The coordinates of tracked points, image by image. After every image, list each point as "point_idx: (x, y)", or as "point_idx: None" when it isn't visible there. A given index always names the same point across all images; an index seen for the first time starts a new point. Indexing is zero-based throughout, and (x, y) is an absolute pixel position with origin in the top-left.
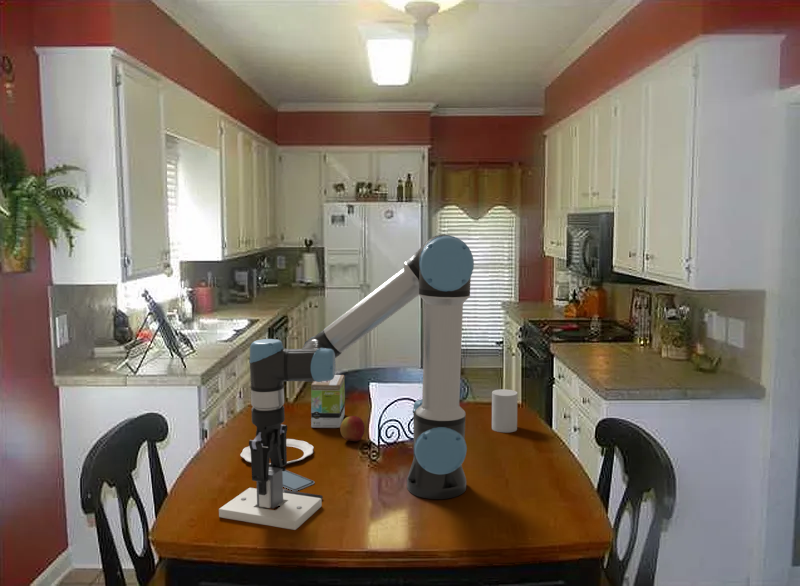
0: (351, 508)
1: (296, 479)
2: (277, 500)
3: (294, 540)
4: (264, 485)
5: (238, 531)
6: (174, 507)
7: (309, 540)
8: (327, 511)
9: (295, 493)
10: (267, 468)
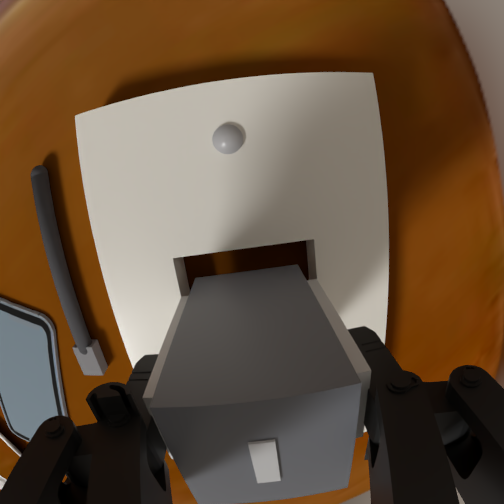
0: (71, 11)
1: (5, 360)
2: (256, 279)
3: (420, 51)
4: (385, 364)
5: (439, 290)
6: (338, 498)
7: (392, 2)
8: (127, 62)
9: (71, 297)
10: (419, 462)
